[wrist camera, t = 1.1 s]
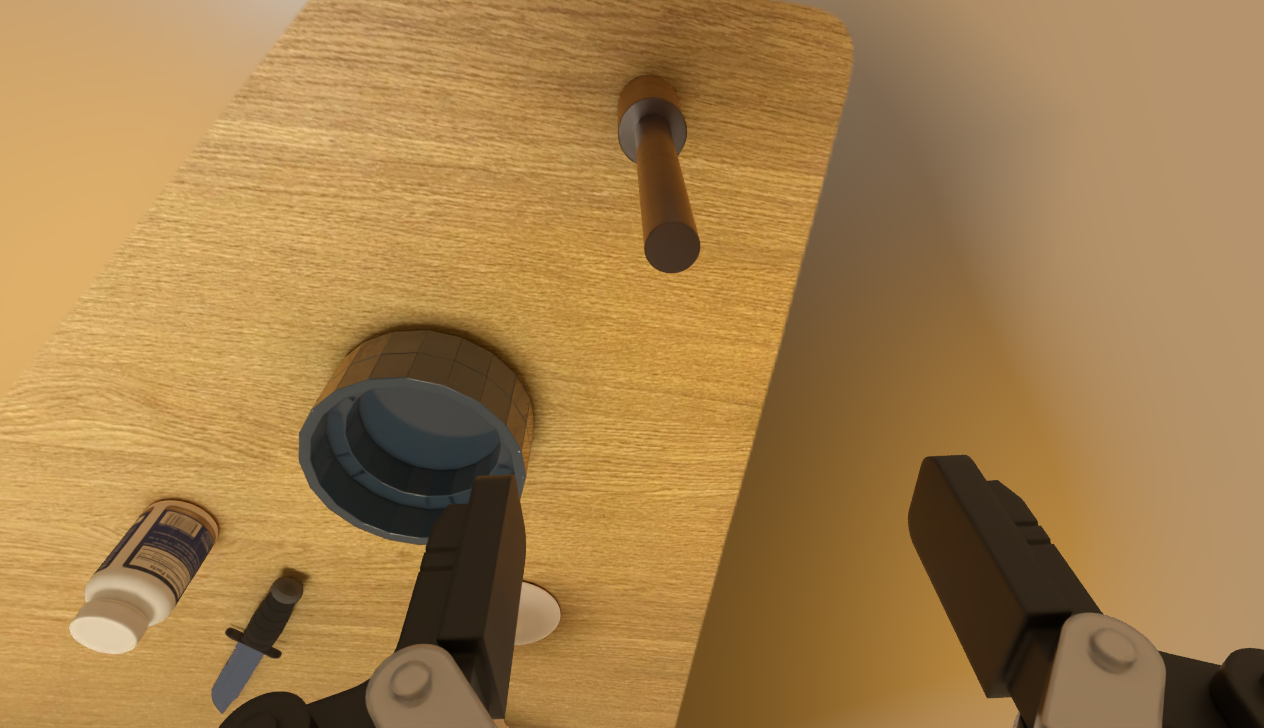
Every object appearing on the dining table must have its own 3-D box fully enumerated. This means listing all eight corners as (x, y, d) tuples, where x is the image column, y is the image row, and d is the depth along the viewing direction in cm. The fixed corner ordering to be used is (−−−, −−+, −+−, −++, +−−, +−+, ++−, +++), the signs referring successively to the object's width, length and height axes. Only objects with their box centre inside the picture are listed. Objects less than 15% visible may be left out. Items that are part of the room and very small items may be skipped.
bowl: (307, 328, 42) (266, 384, 37) (520, 319, 42) (508, 373, 37) (362, 485, 50) (334, 549, 45) (544, 477, 50) (536, 540, 45)
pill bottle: (167, 550, 53) (86, 664, 45) (131, 501, 50) (37, 614, 42) (233, 543, 53) (164, 657, 45) (200, 493, 50) (120, 606, 42)
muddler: (615, 77, 35) (616, 200, 20) (678, 74, 35) (727, 194, 20) (619, 140, 36) (622, 297, 21) (678, 137, 36) (723, 293, 21)
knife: (248, 583, 52) (308, 613, 53) (266, 559, 54) (323, 588, 55) (181, 711, 64) (230, 733, 65) (197, 688, 66) (245, 709, 67)
